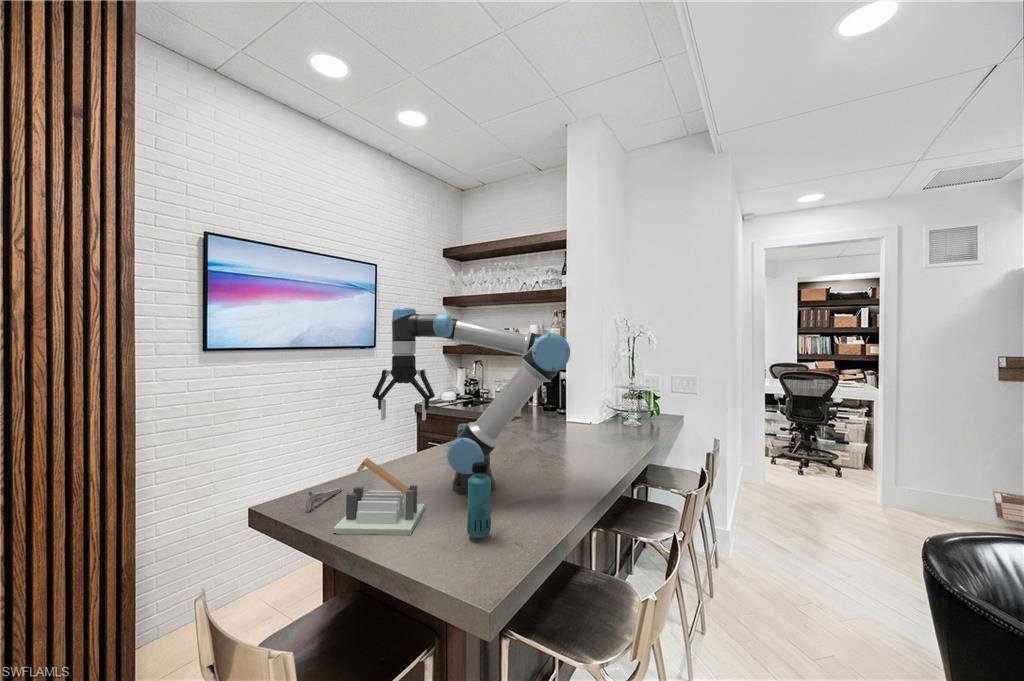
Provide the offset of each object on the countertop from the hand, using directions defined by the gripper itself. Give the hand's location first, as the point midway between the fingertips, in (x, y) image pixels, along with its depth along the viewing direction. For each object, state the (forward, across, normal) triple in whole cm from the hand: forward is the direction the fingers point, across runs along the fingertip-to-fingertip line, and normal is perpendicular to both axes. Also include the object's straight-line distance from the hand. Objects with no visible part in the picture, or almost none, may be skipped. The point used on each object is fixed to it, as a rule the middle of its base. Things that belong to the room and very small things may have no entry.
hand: (403, 419), depth 140 cm
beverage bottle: (+27, -27, +26) cm, 46 cm away
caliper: (+27, +25, +1) cm, 37 cm away
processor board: (+26, +2, +16) cm, 31 cm away
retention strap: (+17, +2, +16) cm, 23 cm away
